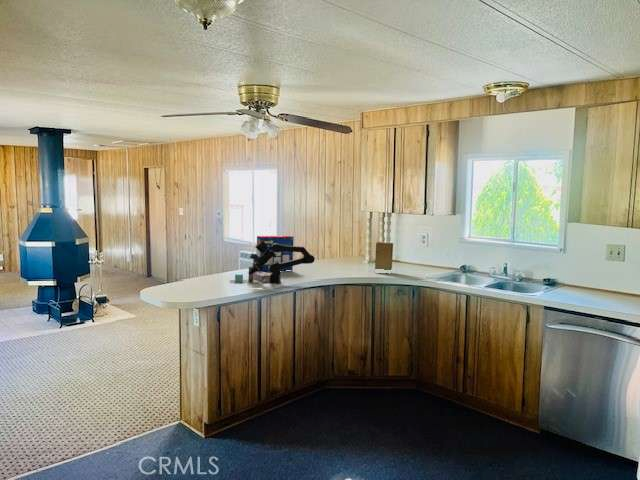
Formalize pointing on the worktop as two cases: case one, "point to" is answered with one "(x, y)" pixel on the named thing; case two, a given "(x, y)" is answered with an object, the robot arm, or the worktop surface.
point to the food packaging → (384, 255)
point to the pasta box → (280, 256)
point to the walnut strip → (250, 279)
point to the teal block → (238, 277)
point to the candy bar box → (262, 276)
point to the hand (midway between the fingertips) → (248, 273)
